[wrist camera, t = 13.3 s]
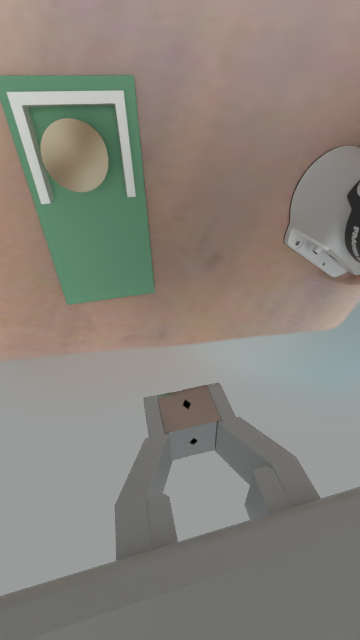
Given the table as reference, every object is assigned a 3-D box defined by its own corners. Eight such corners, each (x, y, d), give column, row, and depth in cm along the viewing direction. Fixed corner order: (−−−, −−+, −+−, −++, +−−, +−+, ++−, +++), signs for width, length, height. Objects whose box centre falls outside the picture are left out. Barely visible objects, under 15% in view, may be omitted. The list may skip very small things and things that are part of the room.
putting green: (154, 290, 45) (157, 301, 42) (67, 302, 43) (65, 315, 40) (133, 76, 29) (136, 70, 27) (-6, 76, 27) (-19, 70, 24)
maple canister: (117, 150, 32) (120, 155, 26) (89, 191, 34) (86, 205, 28) (71, 106, 29) (62, 100, 23) (43, 154, 31) (27, 160, 25)
